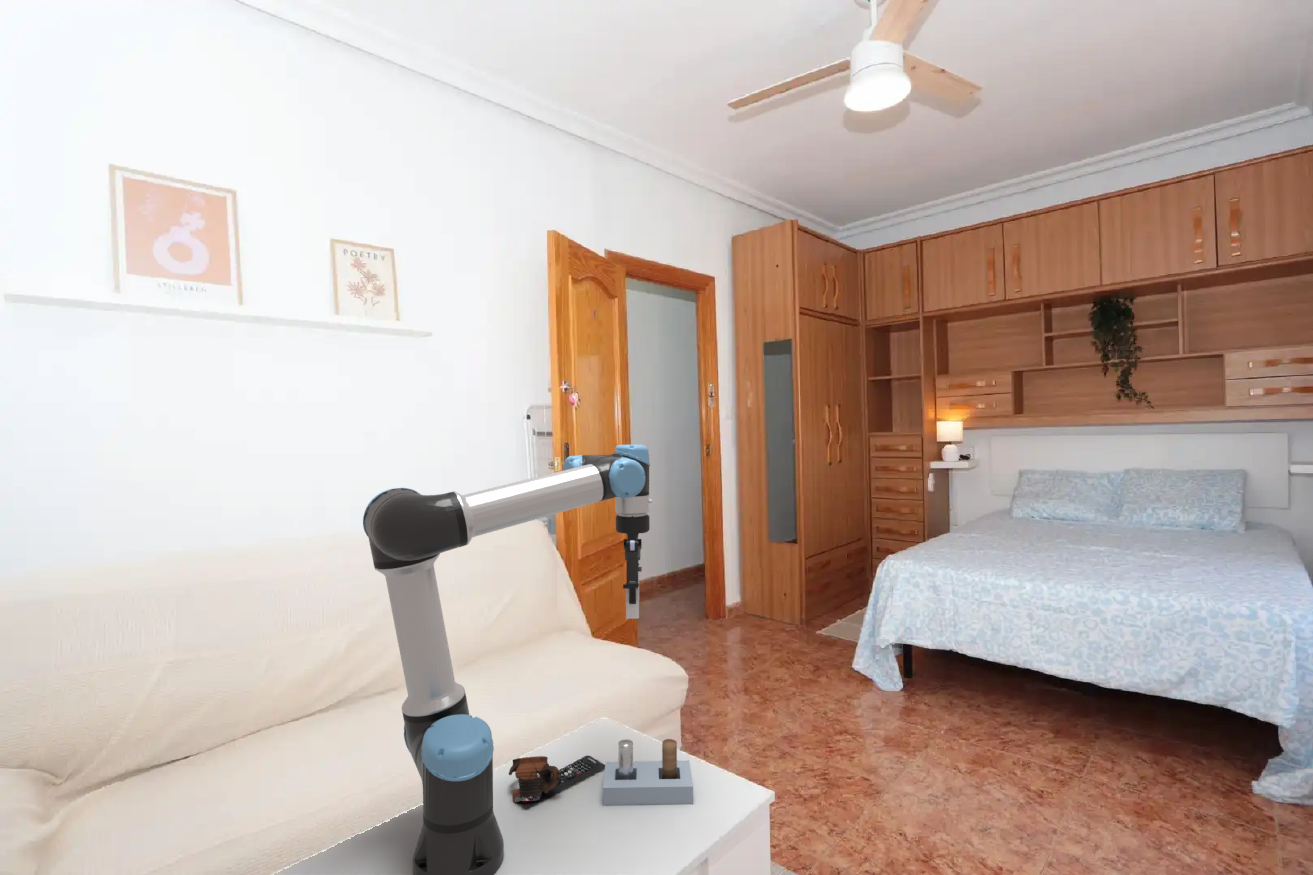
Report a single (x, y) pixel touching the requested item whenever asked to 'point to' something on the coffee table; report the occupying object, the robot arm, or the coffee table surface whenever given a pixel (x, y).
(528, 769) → the pottery mug
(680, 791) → the socket block
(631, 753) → the grey steel peg
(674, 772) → the walnut peg
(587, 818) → the coffee table surface
